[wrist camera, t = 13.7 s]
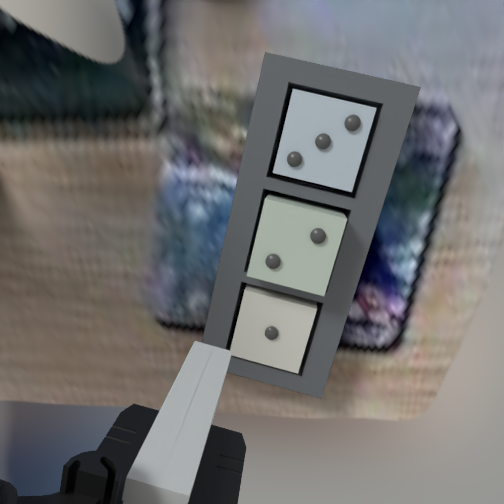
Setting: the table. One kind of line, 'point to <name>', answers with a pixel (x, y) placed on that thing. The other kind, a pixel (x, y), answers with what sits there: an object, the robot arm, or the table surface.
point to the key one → (273, 328)
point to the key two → (296, 244)
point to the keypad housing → (356, 203)
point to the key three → (323, 140)
